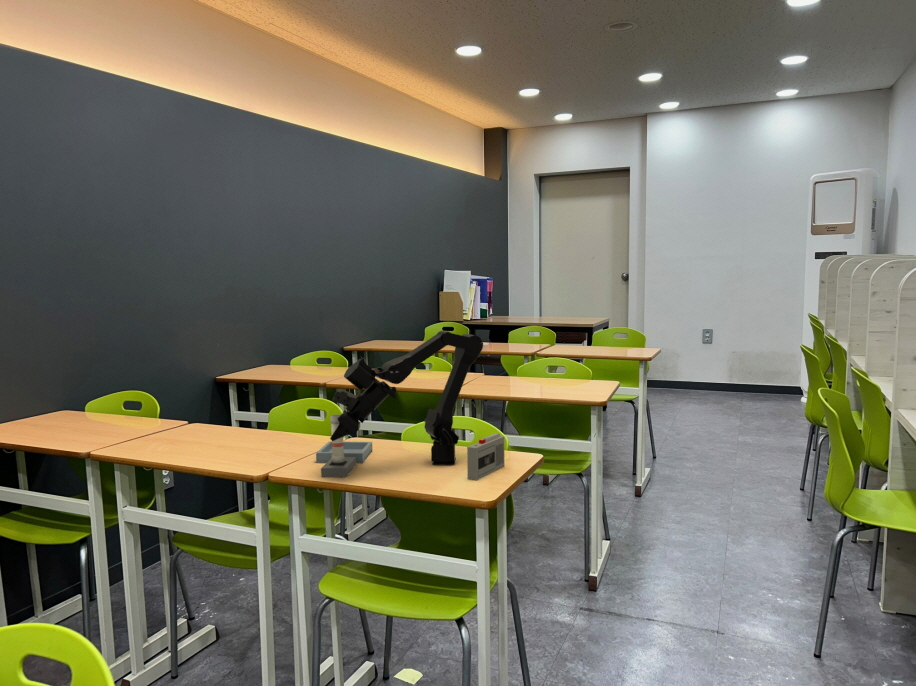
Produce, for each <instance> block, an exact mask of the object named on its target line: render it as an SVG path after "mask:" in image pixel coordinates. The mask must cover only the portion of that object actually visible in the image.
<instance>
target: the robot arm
mask: <svg viewBox="0 0 916 686" xmlns="http://www.w3.org/2000/svg"><path fill="white" fill-rule="evenodd" d="M447 346H450V347H454V363H453V364H452V367H451V370H450V372H449V375H448V377H447V378H448V379H447V380H446V383H445V386H444V388H443V391H442V393H441V396H440V399H439V402H438V404H437V406H436V407H435V408H434V409H431V408H429V409H428V411H427V414H426V417H425V418H424V420H423V422H424V430H425V432H426V433H427V434H428V435H429V437H430V439H431V440H432V441H433V442H432V445H431V448H430V450H431V453H430V455H431V456H430V457H431V459H430V461H431V462H432V463H431V464H432V465H440V466H442V465H444V466H445V465H446V466H453V465H455V464H456V461H457V457H456V445H457V444H458V443H459V439H460V436H459V435H457V433H455V432H454V430H453V424H454V416H453V415H454V409H455V406H456V404H457V401H458V399H459V395H460V393H461V392H462V391H461V390H462V387H463V385H464V382H465V380H466V377H467V375H468V373H469V370H470V368H471V366H472V364H474V363H475V362H476V360H477V359H478V358H479V356H480V354H481V353H482V351H483V348H484V342H483V340H482V338H481V337H480V336H478V335H476V334H475V335H474V334H469V333H464V334H461V335H460V334H458V333H457V334H456V333H452V332H450V331H447V330H440V331H438V332H437V333H436V334H435V335H433V336H432V337H430V338H429V339H427V340H426V341H423V343H422V344H419V345H418V346H417V347H415V348H413V349H412V350H411V351H410V352H409V351H408V352H407V353H406V354H404V355H402V356H399V357H395V358H393V359H391V360H388V361H386V362H384V363H383V364H382V366H379V367H376V368H371V366H369V364H367V363H366V361H364V359H362V358H359V359H358V360H357V361H356V362H354V363H353V364H351V365H350V366H348V368H347V369H346V370H345V373H344V374H343V377H344V378H345V380H347V381H348V382H349V383H350V384H352V385H353V386H354V387H355V388H357V390H359V391H361V390H363V389H364V391H363V392H362V393H359V394H358V395H356V394H353V393H352V392H350V391H347V390H345V389H342V388H338V389H336V391H335V393H334V395H333V398H332V402H334V403H335V404H337V403H338V404H340V405H343V406H345V409H346V410H347V411H346V410H345V409H344V410H343V411H342V413H340V414H339V415H340V416H339V417H338V418H337V419H338V421H339V425H338V427H337V429H336V430H335V432H334V433H333V435H331V436H330V438H329V440H331V441H334V440H337V439H339V438H341V437H343V438H344V437H346V436H348V435H351V434H352V435H355V434H356V433H357V432H358V431H359V430H360V428H361V423H362V424H363V423H364V422H365V421H366V420H367V418H369V416H370V415H371V414H372V413H374V412H375V411H376V409H377V408H378V407H379V406H380V405H381V404H382V403H383V402H384V401H385V400H386V398H388V396H390V397H391V398H392V399H394V400H395V399H397V387H396V386H390V385H389V384H388V383H391V384H394V385H399V384H401V383H402V382H404V381H405V380H406V379H407V378H408V377H409V376H410V375H411V373H412V372H413V371H414V369H415V368H416V367H417V366H419V365H420V364H421V363H423V362H425V361H426V360H428V359H429V358H431V357H432V356H433V355H435V354H436V353H438V352H440V351H441V350H442V349H445V347H447ZM377 378H378V379H377ZM379 379H380V380H381V381H380V380H379ZM385 381H386V382H385Z"/></svg>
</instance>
